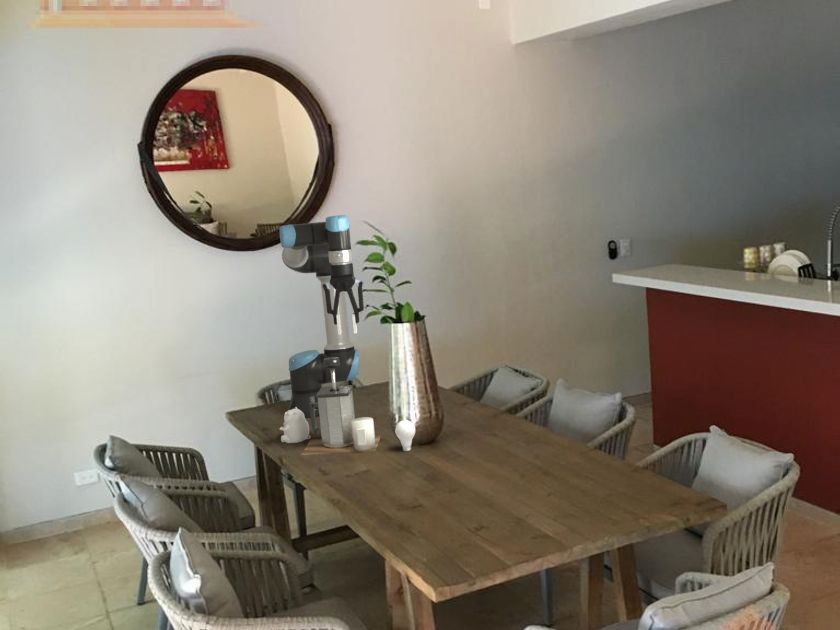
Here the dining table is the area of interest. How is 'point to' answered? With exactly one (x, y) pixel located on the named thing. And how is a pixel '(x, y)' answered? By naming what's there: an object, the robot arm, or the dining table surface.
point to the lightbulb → (405, 433)
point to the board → (318, 448)
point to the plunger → (332, 368)
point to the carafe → (334, 416)
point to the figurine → (295, 427)
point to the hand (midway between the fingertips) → (347, 333)
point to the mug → (363, 433)
